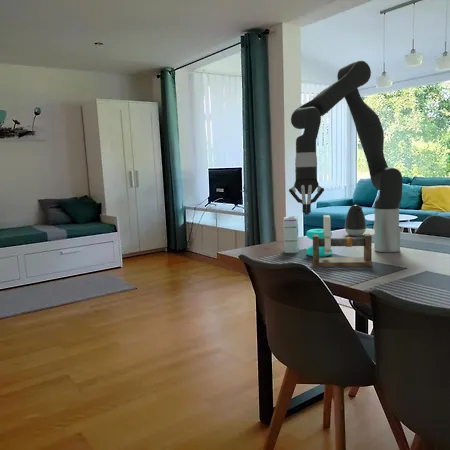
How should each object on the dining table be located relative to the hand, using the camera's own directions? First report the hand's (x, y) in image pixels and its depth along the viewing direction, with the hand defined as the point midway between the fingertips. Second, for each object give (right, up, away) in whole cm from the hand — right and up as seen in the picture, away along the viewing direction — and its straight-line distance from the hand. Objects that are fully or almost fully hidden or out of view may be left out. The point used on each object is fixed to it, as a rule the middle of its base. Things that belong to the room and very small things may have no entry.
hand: (306, 214), depth 155 cm
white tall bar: (+8, -13, +1) cm, 15 cm away
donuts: (+8, -16, +17) cm, 25 cm away
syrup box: (-1, -15, +26) cm, 30 cm away
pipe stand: (+13, -18, 0) cm, 22 cm away
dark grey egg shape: (+35, -9, +58) cm, 68 cm away
